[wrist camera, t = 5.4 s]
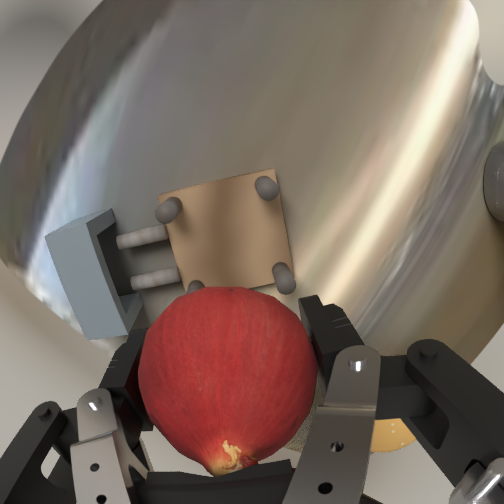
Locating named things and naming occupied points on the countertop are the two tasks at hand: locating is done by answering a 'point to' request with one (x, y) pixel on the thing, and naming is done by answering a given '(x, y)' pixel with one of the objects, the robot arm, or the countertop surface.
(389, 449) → the hamburger
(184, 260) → the pin seat
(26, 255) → the countertop surface
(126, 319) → the housing
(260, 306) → the onion
